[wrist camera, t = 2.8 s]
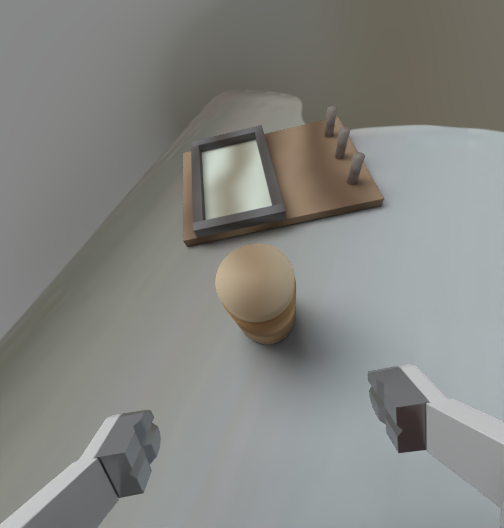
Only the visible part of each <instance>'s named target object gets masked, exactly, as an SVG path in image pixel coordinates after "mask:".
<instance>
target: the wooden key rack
mask: <svg viewBox="0 0 504 528" xmlns="http://www.w3.org/2000/svg"><path fill="white" fill-rule="evenodd" d="M336 113H337V107H335V106H330V107H328V109H327V117H326V120H322V121H318V122H313V123H309V124H305V125H301V126H296V127H292V128H288V129H284V130H280V131H275V132H271V133H267V134H264V132H263V129H262V125H261V126H256V127H252V128H248V129H244V130H240V131H235V132H231V133H227V134H223V135H219V136H214V137H210V138H206V139H202V140H198V141H193V142H191V151H190V152H186V153H183V241H184V243H185V244H186V246H190V245H195V244H200V243H205V242H209V241H214V240H219V239H224V238H229V237H233V236H238V235H243V234H248V233H252V232H257V231H262V230H267V229H271V228H276V227H281V226H286V225H290V224H295V223H300V222H305V221H310V220H314V219H319V218H324V217H329V216H333V215H338V214H343V213H348V212H352V211H357V210H362V209H367V208H372V207H376V206H381V204H382V202H383V199H384V198H383V196H382V194H381V192H380V191H379V189H378V187H377V185H376V184H375V182H374V180H373V178H372V177H371V175H370V173H369V171H368V169H367V168H366V166H365V164H364V162H363V161H364V158H365V155H364V154H363V153H360V152H357V150H356V148H355V147H354V145H353V143H352V141H351V139H350V138H349V132H350V129H349V128H346V127H343V126H342V124H341V122H340V120H339V118H338V117H336Z"/></svg>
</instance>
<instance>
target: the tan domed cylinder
mask: <svg viewBox="0 0 504 528" xmlns="http://www.w3.org/2000/svg"><path fill="white" fill-rule="evenodd" d="M216 290H217V294H218V296H219V298H220V300H221V302H222V304H223V306H224V308H225V309H226V311H227V312H228V313H229V314H230V316H231V317H232V318H233V319H234V321H235V322H236V323H237V324H238V326H239V327H240V328H241V329H242V331H243V332H244V333H245V334H246V335H247V336H248V337H249V338H251V339H252V340H254V341H256V342H258V343H261V344H268V345H269V344H275V343H278V342H280V341H282V340H283V339H285V338H286V337H287V336H288V334H289V333H290V332H291V330H292V327H293V324H294V321H295V312H296V281H295V277H294V271H293V267H292V264H291V262H290V261H289V259H288V258H287V257H286V255H285V254H284V253H282V252H281V251H280V250H278V249H277V248H274V247H272V246H269V245H265V244H250V245H246V246H242V247H240V248H238V249H236V250H234V251H233V252H231V253H230V254H229V255H228V256H227V257H226V258H225V259H224V260H223V261H222V263H221V265H220V266H219V268H218V271H217V274H216Z"/></svg>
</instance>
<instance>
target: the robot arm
mask: <svg viewBox="0 0 504 528" xmlns="http://www.w3.org/2000/svg"><path fill="white" fill-rule="evenodd" d="M368 381H369V383H370V384H371V386H372V387H371V388H370V390H369V395H370V400H371V404H372V407H373V409H374V411H375V414H376V415H377V417H378V419H379V420H380V421H381V422H383V423H384V424H386V433H387V435H388V436H389V438H390V440H391V441H392V443H393V445H394V446H395V448H396V450H397V452H398V453H404V452H412V451H420V450H427V452H428V453H430V454H431V455H432V456H433V457H435V458H436V459H437V460H439V461H440V462H441V463H443V464H444V465H445V466H447V467H448V468H449V469H450V470H452V471H453V472H454V473H456V474H457V475H458V476H460V477H461V478H462V479H463V480H465V481H466V482H467V483H469V484H470V485H471V486H473V487H474V488H475V489H477V490H478V491H479V492H480V493H482V494H483V495H484V496H486V497H487V498H488V499H490V500H491V501H492V502H493V503H495V504H496V505H497V506H499V507H500V508H501V518H500V528H504V422H503V421H501V420H498V419H496V418H494V417H492V416H490V415H487V414H485V413H483V412H481V411H479V410H477V409H474V408H472V407H470V406H468V405H466V404H463V403H461V402H459V401H457V400H455V399H450V400H449V399H448V398H447V397H446V396H445V395H444V394H443V393H442V392H441V391H440V390H439V389H438V388H437V387H436V386H435V385H434V384H433V383H432V382H431V381H430V380H429V379H428V378H427V377H426V376H425V375H424V374H423V373H422V372H421V371H420V370H419V369H418V368H417V367H416V366H415V365H414V364H411V363H410V364H405V365H399V366H396V367H389V368H384V369H378V370H373V371H368ZM153 419H154V416H153V414H152V412H151V410H144V411H137V412H130V413H123V414H119V415H111V416H109V417H108V418H106V419H105V421H104V423H103V424H102V426H101V427H100V429H99V430H98V432H97V433H96V435H95V436H94V438H93V439H92V441H91V442H90V444H89V445H88V447H87V448H86V450H85V452H84V453H83V455H82V456H81V458H80V459H79V461H76V462H73V463H72V464H71V465H70V466H68V467H67V468H66V469H65V470H64V471H63V472H61V473H60V474H59V475H58V476H57V477H56V478H54V479H53V480H52V481H51V482H50V483H48V484H47V485H46V486H45V487H44V488H43V489H41V490H40V491H39V492H38V493H37V494H35V495H34V496H33V497H32V498H31V499H30V500H28V501H27V502H26V503H25V504H24V505H22V506H21V507H20V508H19V509H18V510H17V511H15V512H14V513H13V514H12V515H11V516H9V517H8V518H7V519H6V520H5V521H4V522H2V523H1V524H0V528H97V527H98V526H99V525H100V523H101V522H102V521H103V519H104V518H105V517H106V516H107V514H108V513H109V512H110V510H111V509H112V508H113V506H114V505H115V504H116V503H117V501H118V500H119V499H118V498H121V497H126V496H131V495H137V494H142V493H144V491H145V488H146V485H147V482H148V480H149V477H150V474H151V471H152V470H151V466H150V464H151V463H152V462H153V460H154V459H155V458H156V457H157V454H158V452H159V449H160V441H161V437H160V431H159V428H158V426H156V425H155V424H153V423H152V421H153Z"/></svg>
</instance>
